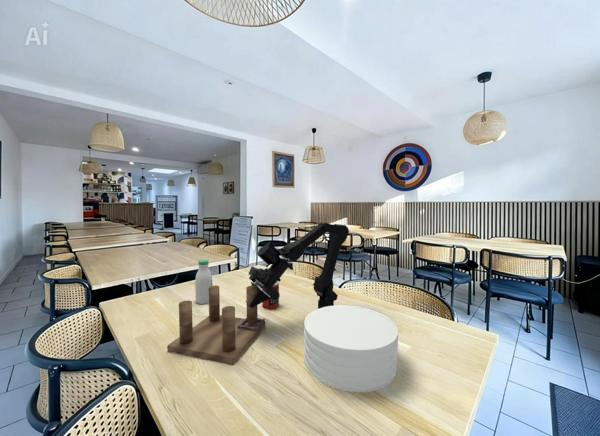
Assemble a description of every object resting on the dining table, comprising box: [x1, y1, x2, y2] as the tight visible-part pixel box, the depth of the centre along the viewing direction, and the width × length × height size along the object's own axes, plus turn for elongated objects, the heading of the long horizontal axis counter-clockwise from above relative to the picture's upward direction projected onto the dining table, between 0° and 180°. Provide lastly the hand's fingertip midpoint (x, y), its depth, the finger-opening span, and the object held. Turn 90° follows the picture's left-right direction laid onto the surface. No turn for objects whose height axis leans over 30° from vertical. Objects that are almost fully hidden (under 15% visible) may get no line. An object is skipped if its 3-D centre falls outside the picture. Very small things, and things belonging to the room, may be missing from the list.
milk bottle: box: [194, 259, 213, 305], centre depth 124 cm, size 8×8×20 cm
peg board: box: [167, 285, 267, 365], centre depth 91 cm, size 24×24×15 cm
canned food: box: [261, 281, 280, 310], centre depth 119 cm, size 8×8×11 cm
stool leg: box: [245, 285, 259, 324], centre depth 97 cm, size 4×4×13 cm
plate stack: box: [303, 304, 399, 393], centre depth 80 cm, size 28×28×12 cm
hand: (248, 304), depth 96 cm, fingers closed on stool leg, 4 cm apart
